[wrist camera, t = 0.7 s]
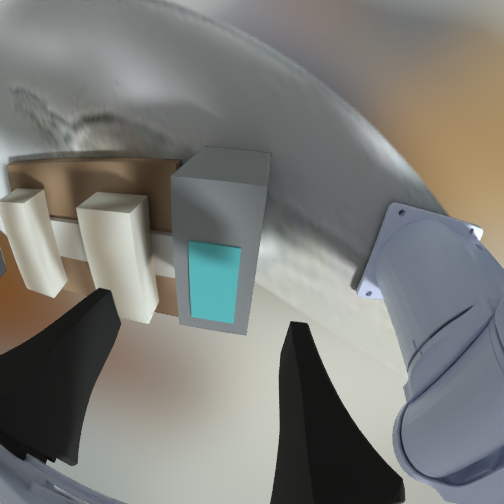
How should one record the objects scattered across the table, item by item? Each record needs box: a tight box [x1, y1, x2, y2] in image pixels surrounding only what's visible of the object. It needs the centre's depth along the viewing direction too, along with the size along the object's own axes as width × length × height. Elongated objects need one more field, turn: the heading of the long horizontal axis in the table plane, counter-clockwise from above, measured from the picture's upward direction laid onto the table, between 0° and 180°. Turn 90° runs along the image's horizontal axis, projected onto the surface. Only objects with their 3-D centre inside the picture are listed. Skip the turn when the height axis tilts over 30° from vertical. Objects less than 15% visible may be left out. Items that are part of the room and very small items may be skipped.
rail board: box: [0, 157, 181, 324], centre depth 18 cm, size 17×13×4 cm
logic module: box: [171, 146, 271, 335], centre depth 16 cm, size 4×9×6 cm, turn 174°
